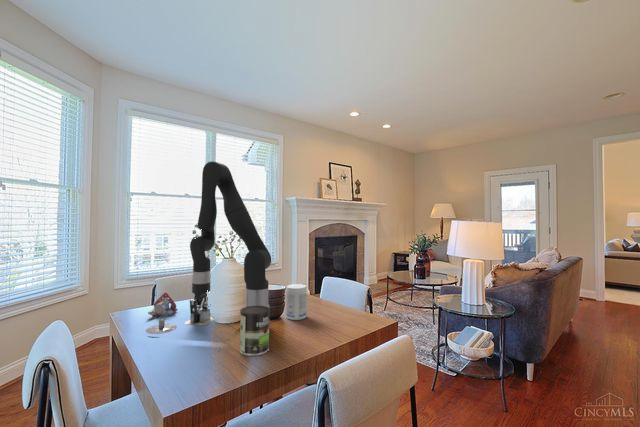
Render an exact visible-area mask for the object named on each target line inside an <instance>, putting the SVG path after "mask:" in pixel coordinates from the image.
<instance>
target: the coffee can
mask: <svg viewBox="0 0 640 427" xmlns="http://www.w3.org/2000/svg"><path fill="white" fill-rule="evenodd" d="M239 312H240V325H239V326H240V328H239V329H240V331H239V333H240V334H239V353H240V354H241V355H244V356H247V357H257V356H262V355H264V354H266V353H268V352H269V351H270V316H271V315H270V313H271V309H270V308H268V307H265V306H249V307H246V306H245V307H242V308H241V309H240V311H239ZM267 351H268V352H267ZM261 354H262V355H261Z"/></svg>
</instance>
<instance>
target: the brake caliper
mask: <svg viewBox="0 0 640 427" xmlns="http://www.w3.org/2000/svg"><path fill="white" fill-rule="evenodd" d="M153 307H154V308H153V309H152V310H150V311H148V313H147V314H148V315H150V317H148V320H151V319H153V318H154V319H159V318H160V317H162V316H163V317H169V316H171V315H174V314H175V313H176V312H177V311H178V310H179V309H178V308H177V304H176V303H175V301H174V300H173V299H172V297H171V296H170V295H169V294H168V292H164V293H163V294H161V295H160V297H158V299H156V301H155V302H154V303H153Z"/></svg>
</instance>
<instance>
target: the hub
mask: <svg viewBox="0 0 640 427" xmlns="http://www.w3.org/2000/svg"><path fill="white" fill-rule="evenodd" d="M177 327H178V326H177V325H176V324H174V323H165V318H162V319H159V320H158V324H156V325H152V326H150V327H148V328H146V329H145V333H147V334H150V335H151V334H152V335H160V334H166V333H170V332H172V331H174V330H176V329H177ZM146 337H147V338H152V339H153V338H154V339H158V338H160V336H159V337H158V336H149V335H147V336H146Z"/></svg>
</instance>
